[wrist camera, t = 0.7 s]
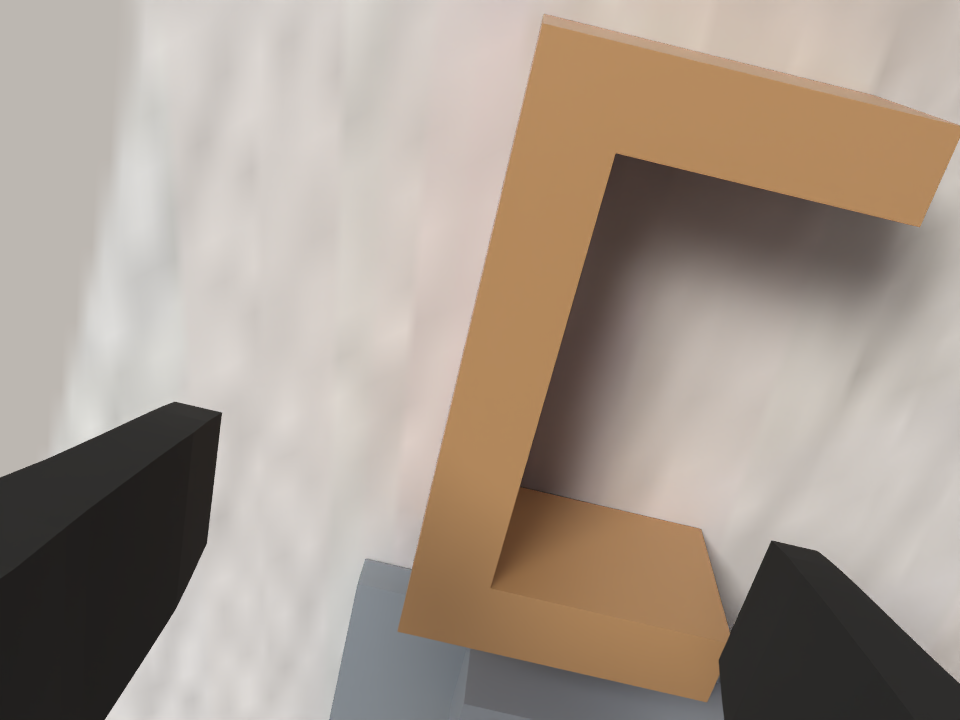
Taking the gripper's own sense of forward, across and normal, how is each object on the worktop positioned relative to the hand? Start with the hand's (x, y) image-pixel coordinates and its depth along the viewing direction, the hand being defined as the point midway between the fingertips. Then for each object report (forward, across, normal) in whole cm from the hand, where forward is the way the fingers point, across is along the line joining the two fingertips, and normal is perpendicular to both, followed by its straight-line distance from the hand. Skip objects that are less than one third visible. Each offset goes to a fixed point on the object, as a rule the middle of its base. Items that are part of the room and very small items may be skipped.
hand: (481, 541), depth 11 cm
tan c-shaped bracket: (+9, -3, 0) cm, 9 cm away
